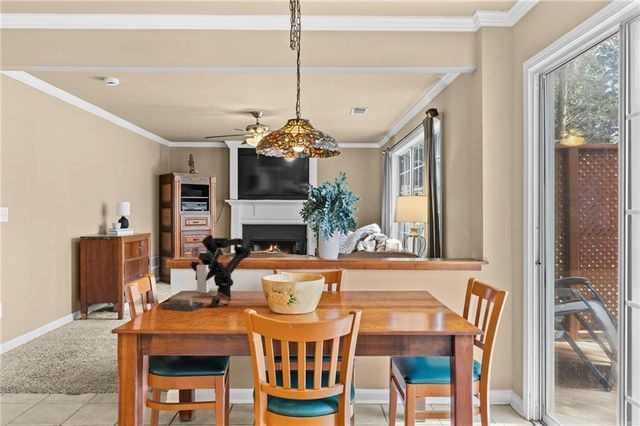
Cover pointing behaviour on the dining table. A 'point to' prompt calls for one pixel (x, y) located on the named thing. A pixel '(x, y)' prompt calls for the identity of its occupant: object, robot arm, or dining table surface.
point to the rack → (183, 306)
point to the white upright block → (202, 278)
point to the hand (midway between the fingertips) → (201, 279)
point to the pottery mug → (218, 297)
